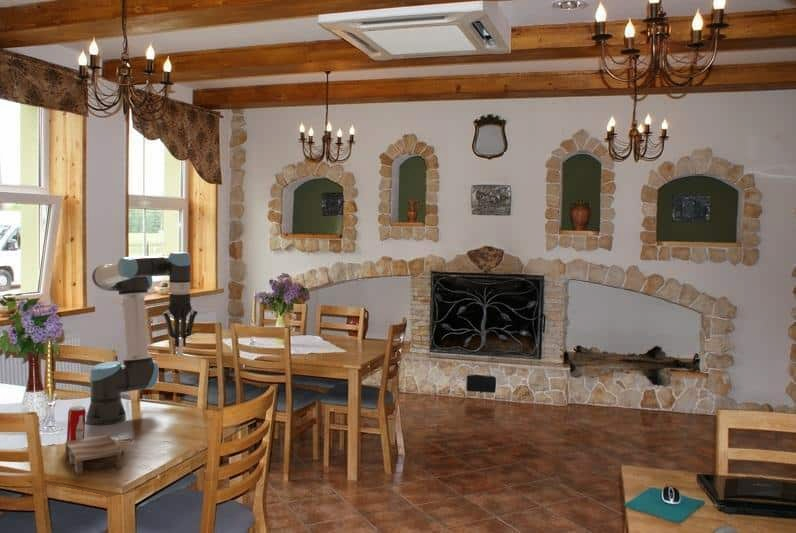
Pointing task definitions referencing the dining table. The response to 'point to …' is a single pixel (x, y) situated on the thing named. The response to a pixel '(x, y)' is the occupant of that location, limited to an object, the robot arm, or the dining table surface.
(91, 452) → the overhang shelf
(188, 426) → the dining table surface
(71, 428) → the beverage can
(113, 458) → the saucer
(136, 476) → the dining table surface
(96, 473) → the dining table surface
